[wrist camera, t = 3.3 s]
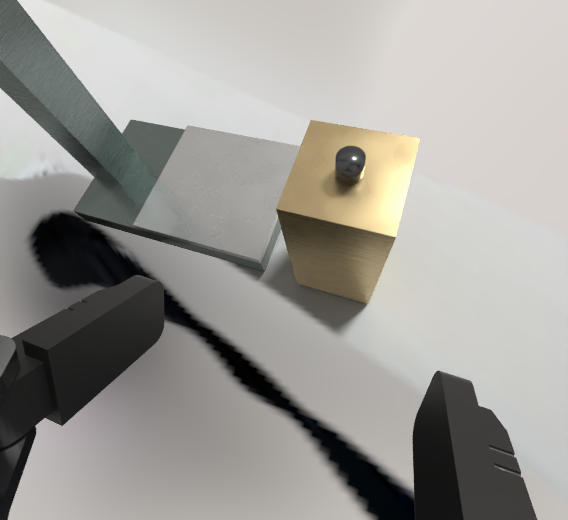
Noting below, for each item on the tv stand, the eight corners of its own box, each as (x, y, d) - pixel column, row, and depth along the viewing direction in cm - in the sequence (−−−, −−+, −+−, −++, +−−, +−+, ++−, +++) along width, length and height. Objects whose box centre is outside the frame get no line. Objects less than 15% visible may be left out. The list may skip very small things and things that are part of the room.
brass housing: (385, 238, 24) (426, 120, 14) (368, 304, 22) (400, 224, 12) (317, 222, 25) (309, 102, 15) (296, 283, 23) (272, 195, 13)
